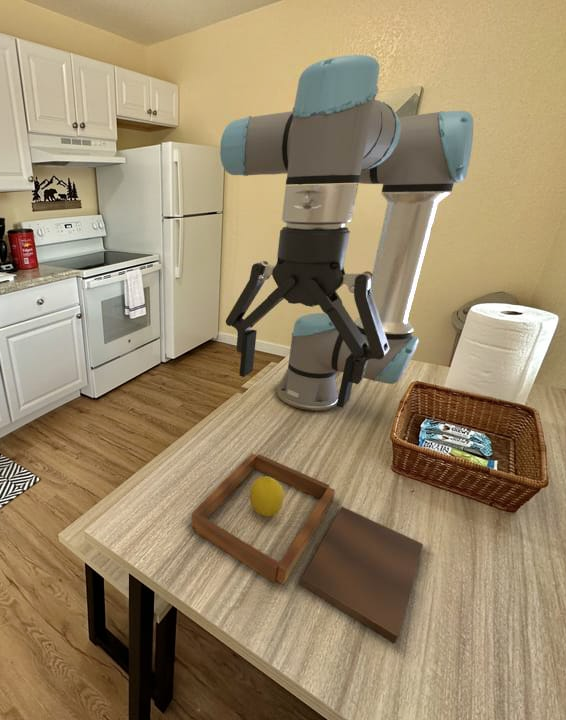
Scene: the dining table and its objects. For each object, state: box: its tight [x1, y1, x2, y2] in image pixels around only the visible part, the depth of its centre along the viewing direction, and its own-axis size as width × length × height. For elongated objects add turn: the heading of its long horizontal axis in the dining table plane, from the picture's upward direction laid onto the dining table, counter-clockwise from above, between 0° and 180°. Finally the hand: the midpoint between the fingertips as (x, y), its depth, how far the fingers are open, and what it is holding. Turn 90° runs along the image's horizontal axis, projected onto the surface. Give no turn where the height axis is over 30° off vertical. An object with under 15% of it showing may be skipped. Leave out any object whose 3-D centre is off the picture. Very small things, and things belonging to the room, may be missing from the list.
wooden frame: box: [191, 453, 336, 586], centre depth 67 cm, size 22×16×3 cm
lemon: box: [249, 476, 284, 517], centre depth 66 cm, size 6×6×8 cm
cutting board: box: [300, 506, 424, 644], centre depth 58 cm, size 18×12×2 cm, turn 138°
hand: (290, 387), depth 53 cm, fingers open, 13 cm apart
